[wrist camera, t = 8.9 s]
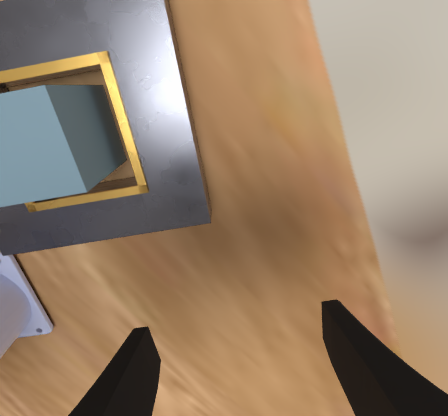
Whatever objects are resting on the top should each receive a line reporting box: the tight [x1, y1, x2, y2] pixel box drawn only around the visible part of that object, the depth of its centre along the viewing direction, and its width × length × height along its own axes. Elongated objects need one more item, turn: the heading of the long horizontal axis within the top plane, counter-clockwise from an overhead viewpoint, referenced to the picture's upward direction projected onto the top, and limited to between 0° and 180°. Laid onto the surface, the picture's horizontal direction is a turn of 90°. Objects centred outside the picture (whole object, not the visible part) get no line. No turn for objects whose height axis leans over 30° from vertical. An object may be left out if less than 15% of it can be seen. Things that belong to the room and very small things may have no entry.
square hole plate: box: [0, 0, 212, 256], centre depth 16 cm, size 14×13×2 cm
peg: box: [0, 85, 127, 207], centre depth 15 cm, size 4×4×6 cm
